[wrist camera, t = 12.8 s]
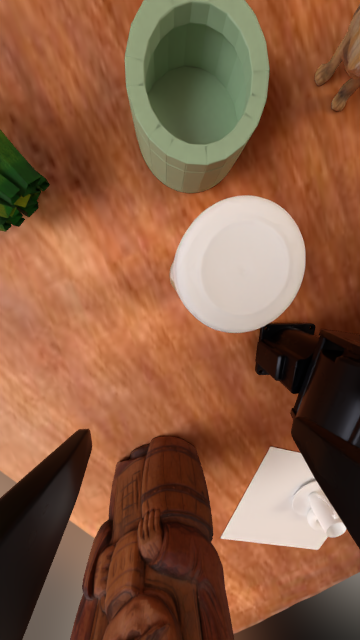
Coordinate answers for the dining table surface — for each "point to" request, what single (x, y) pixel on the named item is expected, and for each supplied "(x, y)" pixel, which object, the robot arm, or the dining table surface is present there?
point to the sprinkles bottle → (239, 264)
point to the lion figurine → (355, 52)
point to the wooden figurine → (155, 554)
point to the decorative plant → (17, 186)
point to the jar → (195, 87)
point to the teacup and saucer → (284, 506)
